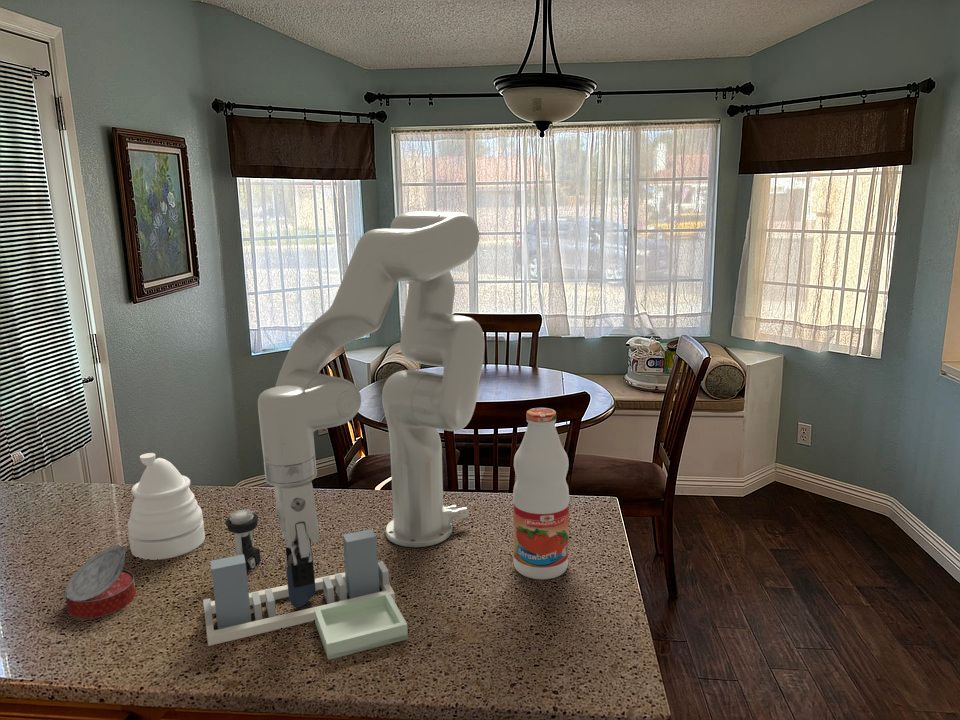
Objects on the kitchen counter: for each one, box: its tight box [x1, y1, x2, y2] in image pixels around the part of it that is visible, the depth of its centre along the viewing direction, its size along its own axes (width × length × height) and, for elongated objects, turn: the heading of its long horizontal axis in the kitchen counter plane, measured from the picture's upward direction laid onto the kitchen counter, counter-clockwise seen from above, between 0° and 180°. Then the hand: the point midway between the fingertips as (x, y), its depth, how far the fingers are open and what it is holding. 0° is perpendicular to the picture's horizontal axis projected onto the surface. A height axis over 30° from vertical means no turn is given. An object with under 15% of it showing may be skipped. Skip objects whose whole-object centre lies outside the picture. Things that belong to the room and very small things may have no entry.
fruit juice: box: [512, 407, 570, 580], centre depth 122 cm, size 9×9×28 cm
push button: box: [225, 508, 261, 571], centre depth 125 cm, size 7×5×10 cm
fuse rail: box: [202, 528, 396, 647], centre depth 113 cm, size 28×10×10 cm, turn 113°
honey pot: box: [127, 452, 206, 561], centre depth 133 cm, size 13×13×18 cm
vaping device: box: [285, 538, 317, 608], centre depth 113 cm, size 3×5×12 cm, turn 161°
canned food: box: [64, 544, 137, 619], centre depth 116 cm, size 11×10×10 cm
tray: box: [314, 591, 409, 661], centre depth 107 cm, size 12×10×2 cm
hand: (301, 575), depth 113 cm, fingers closed on vaping device, 4 cm apart
